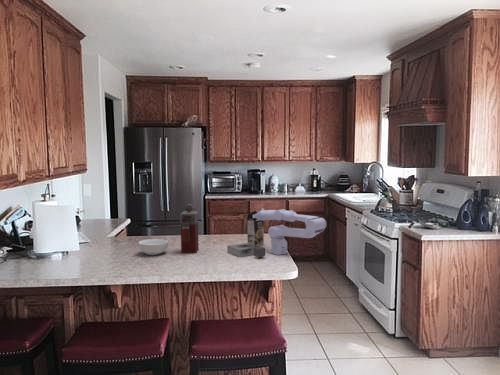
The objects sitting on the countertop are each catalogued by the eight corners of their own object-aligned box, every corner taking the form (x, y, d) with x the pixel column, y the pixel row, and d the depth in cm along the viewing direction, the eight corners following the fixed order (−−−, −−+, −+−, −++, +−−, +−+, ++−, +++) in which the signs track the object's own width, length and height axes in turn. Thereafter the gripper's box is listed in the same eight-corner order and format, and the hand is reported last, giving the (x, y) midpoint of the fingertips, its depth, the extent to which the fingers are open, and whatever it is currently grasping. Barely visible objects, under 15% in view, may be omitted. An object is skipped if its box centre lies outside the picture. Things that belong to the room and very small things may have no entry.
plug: (265, 257, 233) (265, 247, 233) (257, 259, 231) (257, 249, 230) (261, 256, 237) (261, 246, 236) (253, 257, 234) (253, 247, 234)
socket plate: (259, 254, 242) (259, 247, 242) (239, 257, 235) (239, 250, 235) (246, 249, 254) (246, 242, 254) (227, 252, 247) (227, 245, 247)
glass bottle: (180, 254, 244) (179, 205, 242) (183, 249, 255) (182, 203, 253) (195, 254, 244) (194, 205, 242) (198, 249, 255) (197, 203, 253)
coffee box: (255, 247, 259) (255, 221, 258) (247, 246, 263) (246, 220, 262) (264, 244, 266) (264, 219, 265) (255, 243, 270) (255, 218, 269)
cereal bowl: (161, 257, 236) (161, 245, 236) (133, 256, 240) (133, 244, 239) (172, 250, 253) (172, 239, 252) (146, 249, 256) (146, 238, 256)
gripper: (276, 207, 253) (260, 208, 263) (259, 209, 243) (243, 209, 253) (277, 219, 253) (261, 219, 263) (260, 221, 243) (244, 221, 252)
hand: (252, 215), depth 258 cm, fingers open, 7 cm apart
